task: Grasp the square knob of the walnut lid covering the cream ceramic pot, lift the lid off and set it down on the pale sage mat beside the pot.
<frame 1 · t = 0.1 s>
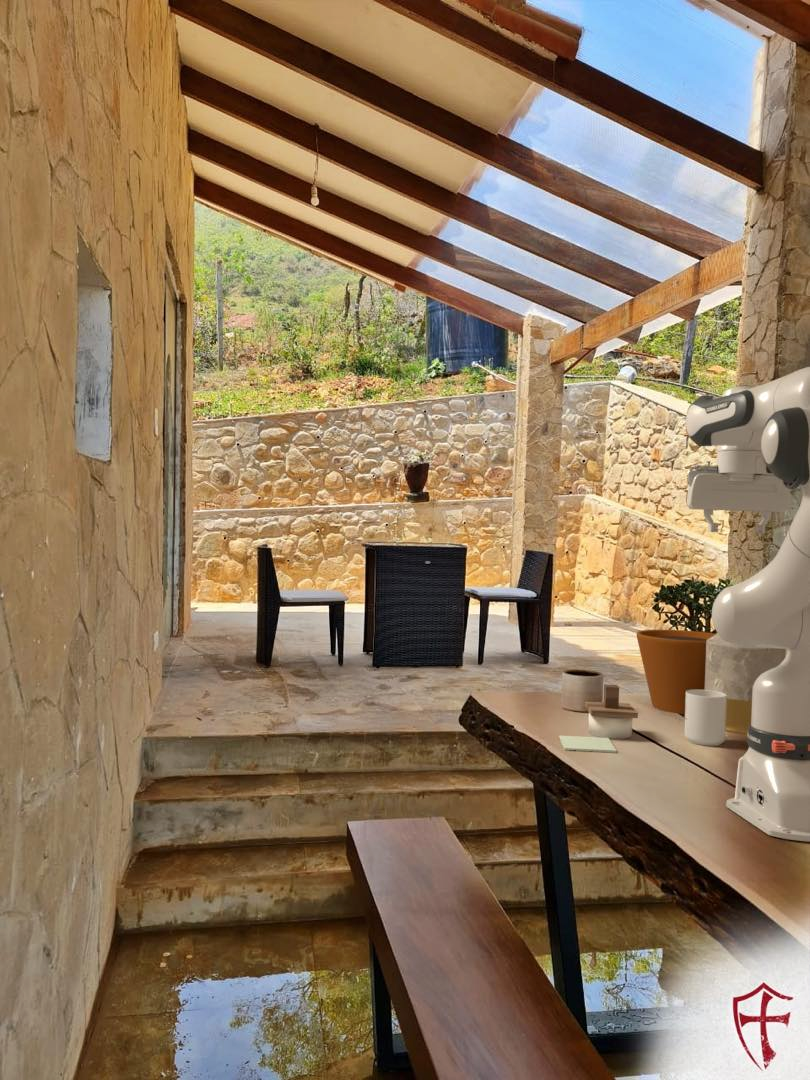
hand: (736, 532, 177), 48 cm above the table, fingers open, 8 cm apart
mug: (703, 741, 196), on the table
flower pot: (679, 709, 231), on the table
vase: (742, 726, 212), on the table
lid: (610, 712, 200), point 5 cm above the table, touching bowl
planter: (581, 709, 227), on the table
bowl: (609, 733, 200), on the table
mat: (586, 745, 188), on the table
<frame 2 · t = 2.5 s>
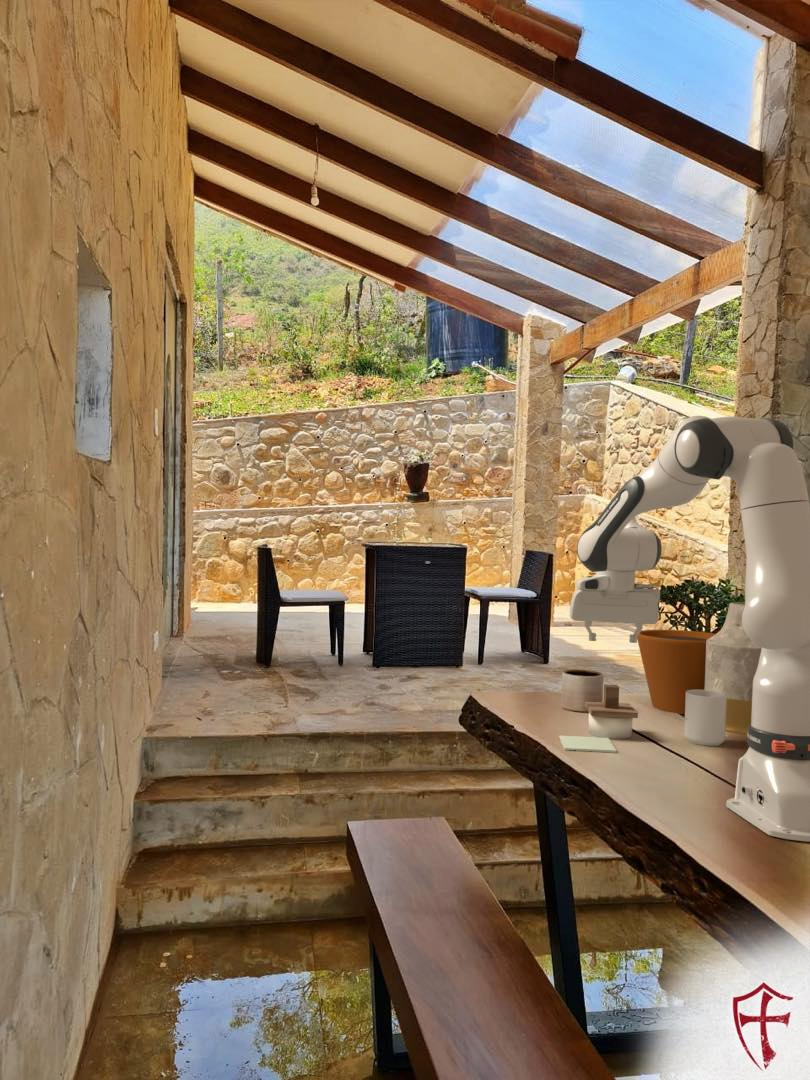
hand: (612, 641, 199), 22 cm above the table, fingers open, 8 cm apart
nothing on the table moved.
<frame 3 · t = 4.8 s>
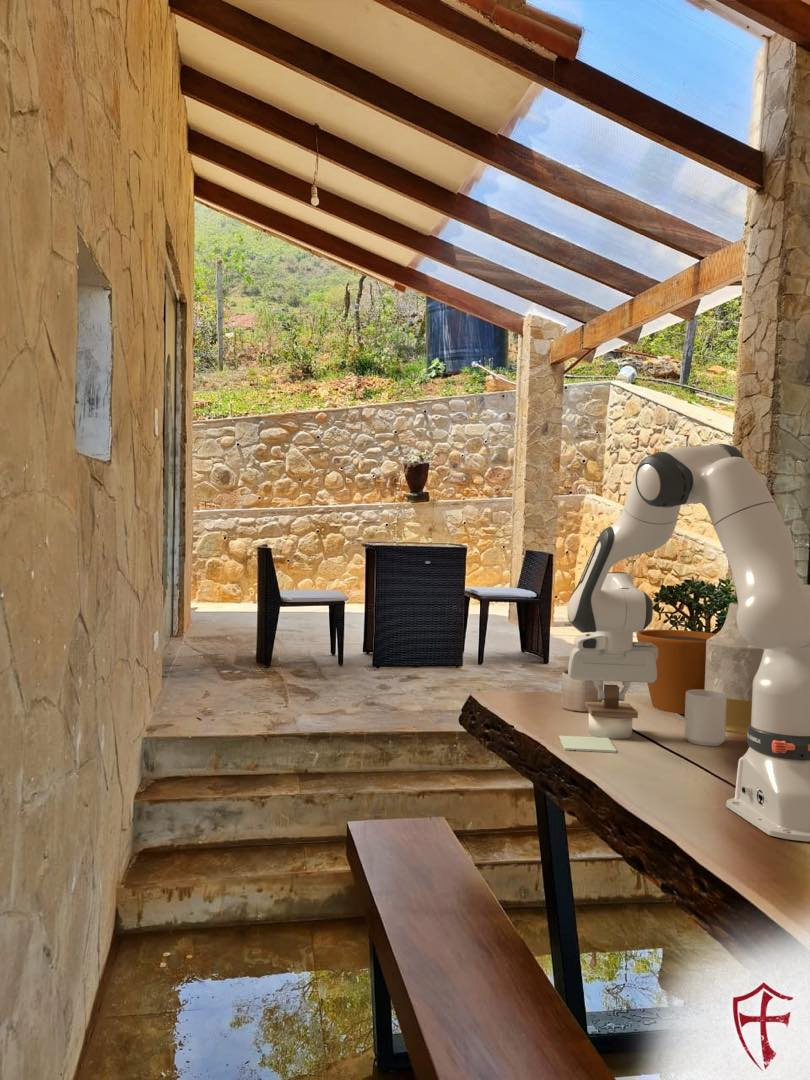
hand: (611, 699, 199), 8 cm above the table, fingers closed on lid, 3 cm apart
lid: (610, 712, 200), point 5 cm above the table, touching bowl, gripper
everything else where it was.
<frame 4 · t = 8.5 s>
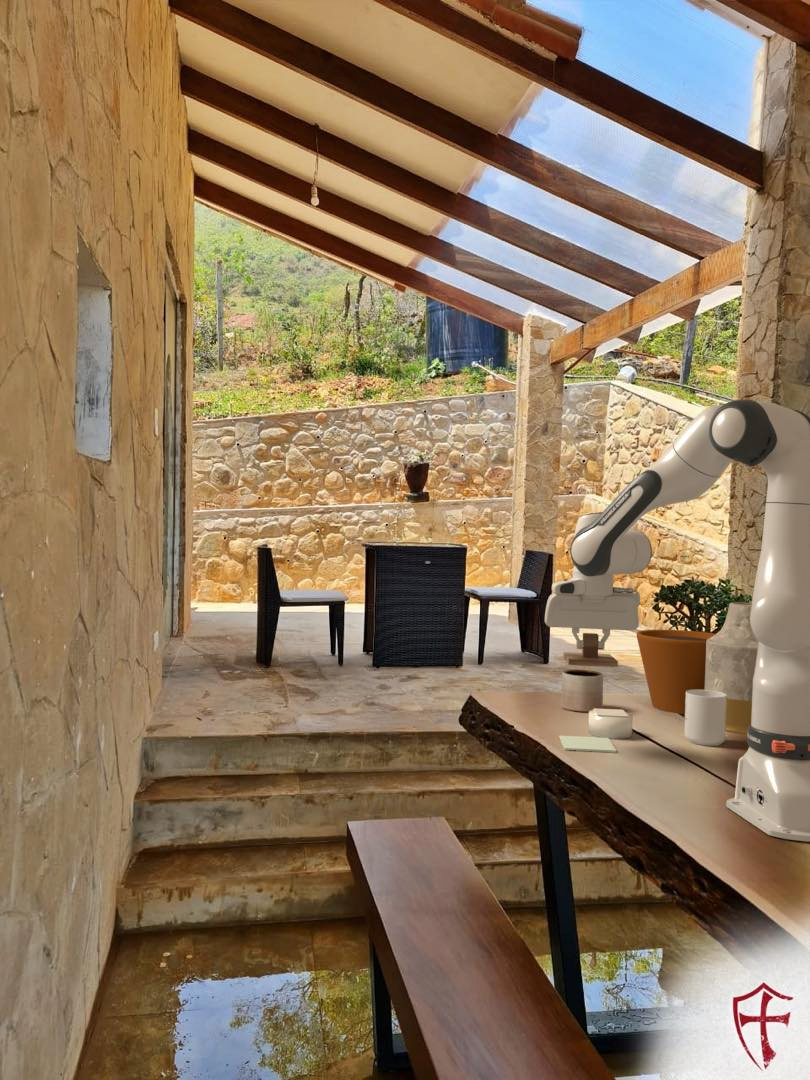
hand: (590, 649, 188), 21 cm above the table, fingers closed on lid, 3 cm apart
lid: (589, 662, 188), point 18 cm above the table, touching gripper
everything else where it was.
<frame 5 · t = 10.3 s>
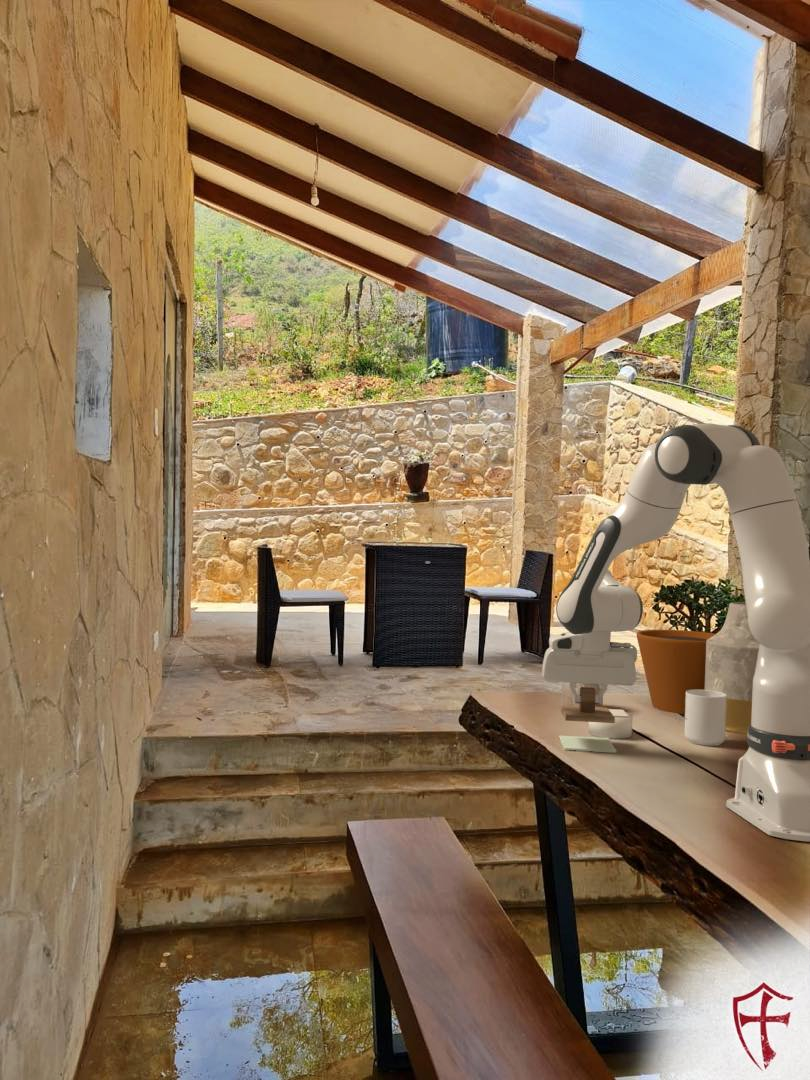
hand: (587, 703, 188), 9 cm above the table, fingers closed on lid, 3 cm apart
lid: (586, 716, 188), point 6 cm above the table, touching gripper
everything else where it was.
when the fingers open (5 cm above the table, at t = 11.9 s): lid drops 1 cm, resting on mat.
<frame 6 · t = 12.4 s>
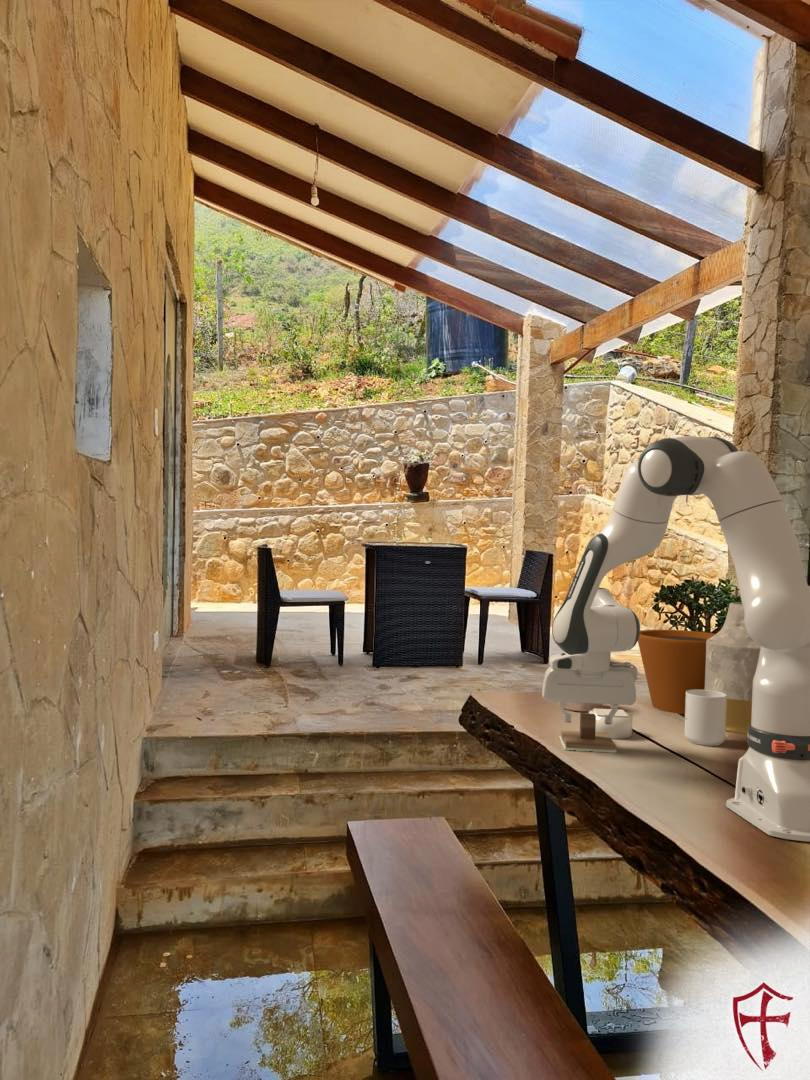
hand: (587, 723, 188), 5 cm above the table, fingers open, 8 cm apart
lid: (587, 742, 188), resting on mat
everything else where it was.
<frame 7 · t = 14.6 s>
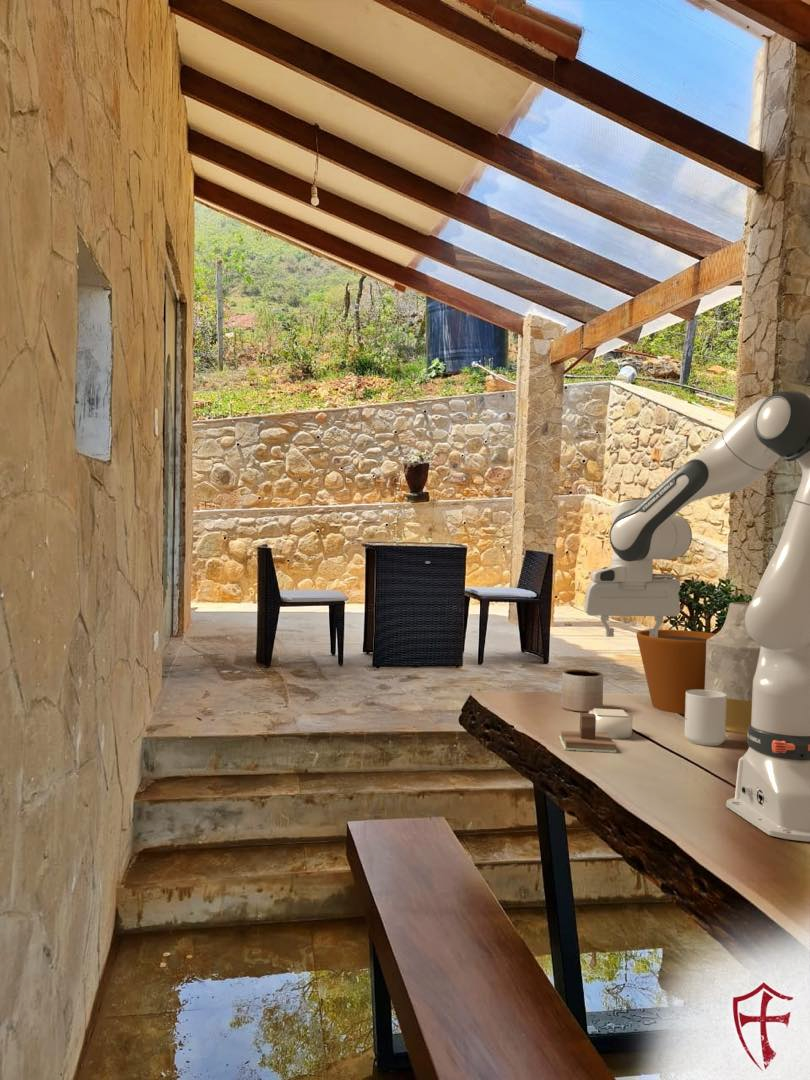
hand: (631, 636, 186), 24 cm above the table, fingers open, 8 cm apart
nothing on the table moved.
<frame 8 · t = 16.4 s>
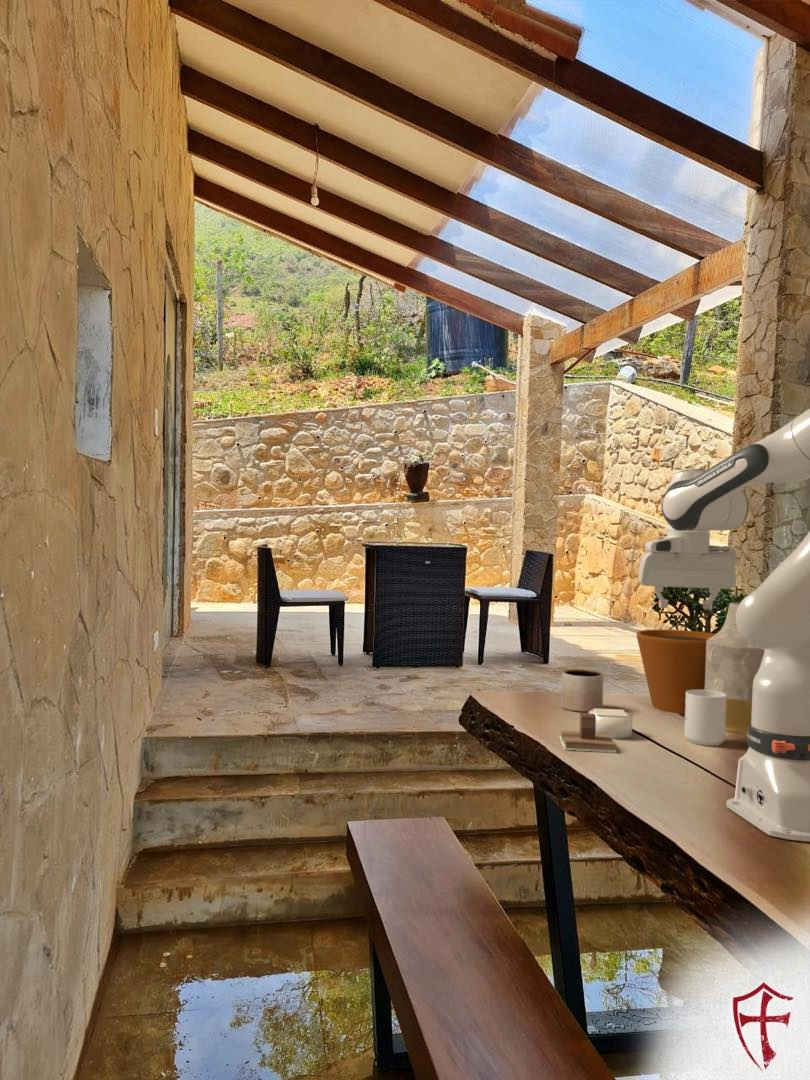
hand: (685, 608, 185), 31 cm above the table, fingers open, 8 cm apart
nothing on the table moved.
at the end: lid inside the target area on the mat (0.0 cm from its centre), point 0.5 cm above the mat's base; lid touching mat; lid tilted 0° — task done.
